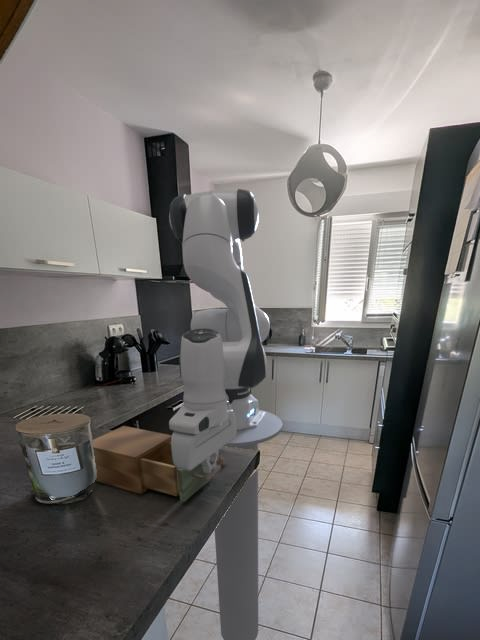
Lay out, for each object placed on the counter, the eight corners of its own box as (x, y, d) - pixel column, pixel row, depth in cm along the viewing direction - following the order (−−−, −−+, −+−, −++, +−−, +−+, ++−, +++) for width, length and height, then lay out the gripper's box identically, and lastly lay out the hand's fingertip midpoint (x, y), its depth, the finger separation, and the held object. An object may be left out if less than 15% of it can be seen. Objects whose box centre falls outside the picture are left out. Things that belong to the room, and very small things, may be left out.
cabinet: (176, 469, 93) (173, 435, 90) (141, 494, 82) (135, 457, 78) (128, 457, 100) (123, 425, 96) (90, 479, 89) (82, 444, 85)
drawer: (228, 480, 86) (227, 451, 83) (200, 506, 76) (198, 474, 73) (163, 464, 94) (160, 437, 91) (130, 486, 84) (125, 456, 81)
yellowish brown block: (189, 463, 96) (189, 455, 95) (194, 460, 98) (194, 451, 97) (216, 470, 93) (216, 461, 92) (221, 466, 95) (221, 457, 94)
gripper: (218, 397, 84) (221, 450, 89) (162, 424, 67) (170, 488, 72) (242, 400, 81) (243, 454, 86) (190, 429, 64) (196, 495, 69)
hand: (209, 470), depth 79 cm, fingers closed, pressing on drawer
